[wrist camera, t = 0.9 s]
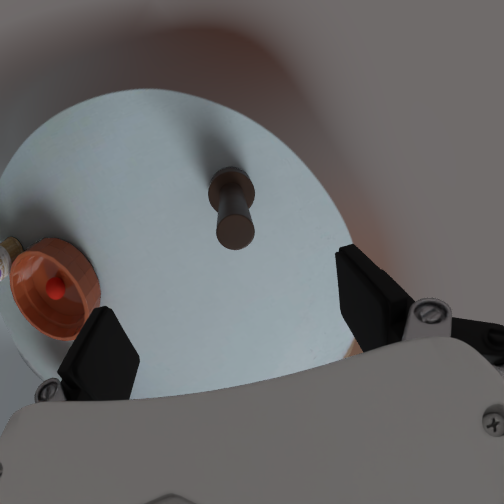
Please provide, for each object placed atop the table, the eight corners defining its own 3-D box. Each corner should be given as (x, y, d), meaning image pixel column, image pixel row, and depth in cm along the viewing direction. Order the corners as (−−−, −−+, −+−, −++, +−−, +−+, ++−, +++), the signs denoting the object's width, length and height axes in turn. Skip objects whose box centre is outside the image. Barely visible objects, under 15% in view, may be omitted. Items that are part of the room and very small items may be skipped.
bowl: (15, 250, 30) (-4, 265, 25) (76, 223, 29) (57, 237, 25) (54, 325, 35) (41, 344, 30) (117, 311, 35) (106, 334, 30)
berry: (48, 275, 31) (38, 286, 28) (62, 271, 31) (52, 281, 28) (58, 294, 32) (48, 305, 30) (72, 290, 32) (63, 301, 30)
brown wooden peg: (205, 173, 29) (187, 206, 15) (245, 162, 29) (264, 186, 15) (216, 211, 31) (210, 275, 17) (255, 200, 31) (280, 257, 17)
